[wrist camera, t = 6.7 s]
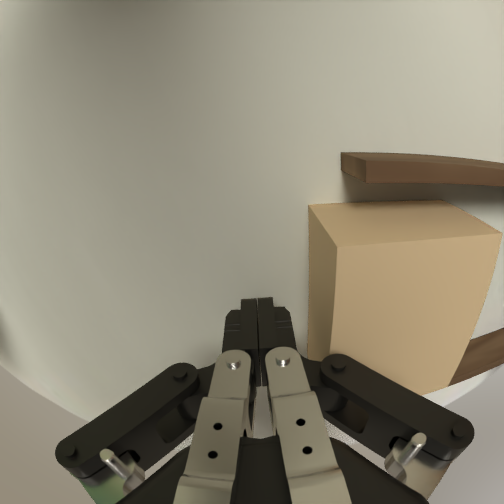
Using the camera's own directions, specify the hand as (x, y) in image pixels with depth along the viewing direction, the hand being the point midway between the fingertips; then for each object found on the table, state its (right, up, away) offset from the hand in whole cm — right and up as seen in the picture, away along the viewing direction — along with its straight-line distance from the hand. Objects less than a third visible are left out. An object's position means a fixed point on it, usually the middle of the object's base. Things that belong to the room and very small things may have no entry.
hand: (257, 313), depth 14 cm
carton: (+6, +1, +1) cm, 7 cm away
